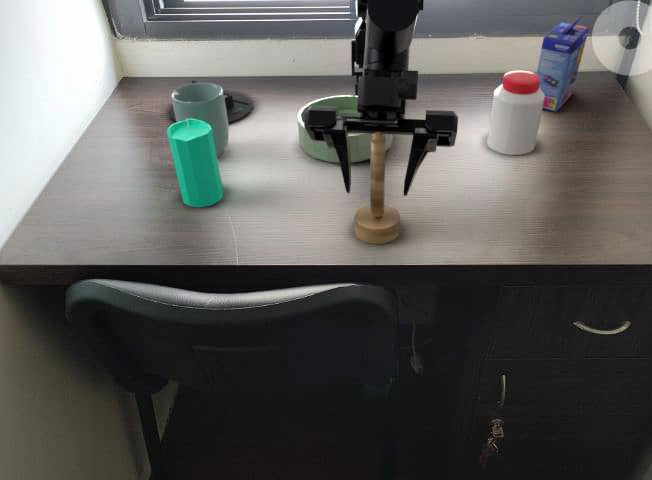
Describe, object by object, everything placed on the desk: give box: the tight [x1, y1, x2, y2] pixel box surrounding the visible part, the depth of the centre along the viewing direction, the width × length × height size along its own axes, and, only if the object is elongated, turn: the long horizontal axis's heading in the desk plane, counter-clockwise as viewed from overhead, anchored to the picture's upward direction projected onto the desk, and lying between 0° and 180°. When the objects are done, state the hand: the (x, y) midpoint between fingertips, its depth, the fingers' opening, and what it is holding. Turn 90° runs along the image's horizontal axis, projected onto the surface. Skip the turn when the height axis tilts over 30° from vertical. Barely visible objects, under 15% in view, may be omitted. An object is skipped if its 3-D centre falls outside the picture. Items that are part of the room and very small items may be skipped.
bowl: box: [296, 94, 394, 163], centre depth 98 cm, size 15×15×5 cm
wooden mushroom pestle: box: [353, 132, 401, 245], centre depth 76 cm, size 6×6×14 cm
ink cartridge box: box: [535, 15, 590, 113], centre depth 106 cm, size 10×6×14 cm, turn 148°
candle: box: [166, 118, 225, 208], centre depth 84 cm, size 6×6×12 cm
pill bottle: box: [486, 69, 545, 156], centre depth 95 cm, size 8×8×11 cm
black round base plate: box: [169, 80, 254, 125], centre depth 109 cm, size 15×15×6 cm
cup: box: [171, 82, 230, 157], centre depth 95 cm, size 8×8×10 cm
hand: (376, 193), depth 75 cm, fingers open, 7 cm apart
